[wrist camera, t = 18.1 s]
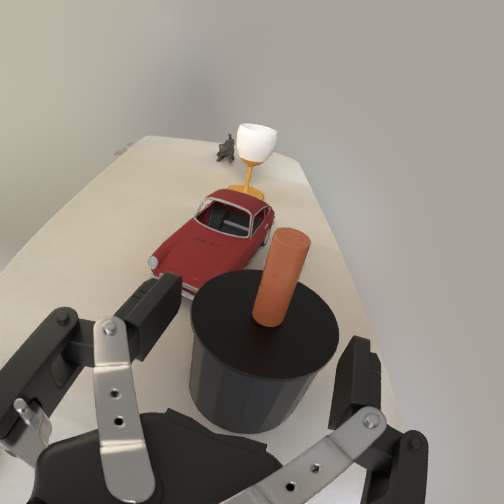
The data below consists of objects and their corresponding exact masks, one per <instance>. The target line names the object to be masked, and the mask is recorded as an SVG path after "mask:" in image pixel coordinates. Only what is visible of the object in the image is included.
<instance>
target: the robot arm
mask: <svg viewBox="0 0 504 504" xmlns="http://www.w3.org/2000/svg"><path fill="white" fill-rule="evenodd" d="M182 284H183V278H182V276H179V275H176V274H174V273H171V272H169V271H166V272H165V273H164V274H163V275H162V276H161V278H160V279H159V280H158V279H156V278H152V279H150V280H147V281H145V282H144V283H143V284H142V285H141V286H140V287H139V288H138V289H137V290H136V291H135V292H134V293H133V294H132V296H131V297H130V298H129V299H128V300H127V301H126V302H125V303H124V304H123V305H122V306H121V308H120V309H119V310H118V311H117V312H116V313H115V314H114V315H113V316H105V317H102V318H100V319H99V320H97V321H90V320H84V319H79V318H78V314H77V312H76V311H75V310H74V309H72V308H70V307H60V308H57V309H55V310H54V311H52V312H51V313H50V315H49V316H48V317H47V318H46V319H45V320H44V321H43V322H42V323H41V324H40V325H39V326H38V328H37V329H36V330H35V331H34V332H33V333H32V334H31V335H30V336H29V338H28V339H27V340H26V341H25V342H24V343H23V344H22V346H21V347H20V348H19V349H18V350H17V351H16V353H15V354H14V355H13V356H12V357H11V358H10V360H9V361H8V362H7V363H6V364H5V366H4V367H3V368H2V369H1V371H0V447H1V448H2V449H4V450H5V451H6V452H7V453H8V454H10V455H11V456H14V457H19V458H20V459H21V460H22V461H24V462H25V463H26V464H28V465H29V466H31V467H32V468H33V469H35V481H34V488H33V492H32V495H31V497H30V499H29V501H28V502H27V503H26V504H304V503H305V502H307V501H308V500H309V499H311V498H312V497H313V496H315V495H316V494H317V493H318V492H320V491H321V490H322V489H323V488H325V487H326V486H327V485H328V484H330V483H331V482H332V481H333V480H334V479H336V478H337V477H338V476H339V475H340V474H341V473H343V472H344V471H345V470H346V469H347V468H348V467H349V466H350V465H351V464H352V463H353V462H355V463H357V464H358V465H360V466H362V467H364V468H366V469H367V473H366V478H365V483H364V489H363V493H362V498H361V503H360V504H425V495H426V484H427V469H428V442H427V439H426V437H425V436H424V435H423V434H422V433H420V432H419V431H416V430H410V431H407V432H406V433H404V434H403V433H401V432H399V431H398V430H396V429H394V428H392V427H390V426H389V425H388V424H387V421H386V418H385V416H384V414H383V413H382V412H381V382H380V381H381V375H380V374H381V363H380V360H379V358H378V356H377V354H376V353H372V352H370V340H369V339H365V338H362V337H359V336H355V335H354V336H353V337H352V339H351V340H350V342H349V344H348V345H347V347H346V349H345V350H344V352H343V354H342V355H341V357H340V359H339V361H338V364H337V368H336V376H335V383H334V391H333V398H332V405H331V411H330V418H329V424H328V429H331V430H335V431H334V432H332V433H331V434H330V435H327V436H325V437H324V438H323V439H321V440H320V441H319V442H317V443H316V444H315V445H313V446H312V447H311V448H309V449H308V450H306V451H305V452H304V453H302V454H301V455H299V456H298V457H297V458H295V459H294V460H292V461H291V462H289V463H288V464H286V465H285V466H283V465H282V464H281V463H280V462H279V461H278V460H277V459H276V458H275V457H274V456H273V455H271V454H270V453H268V452H267V451H266V448H267V444H264V443H260V442H257V441H254V440H251V439H248V438H245V437H240V436H231V435H223V434H216V433H213V432H212V431H210V430H209V429H207V428H206V427H204V426H203V425H201V424H200V423H198V422H197V421H195V420H194V419H193V418H191V417H188V416H186V415H184V414H181V413H179V412H177V411H174V410H172V409H170V408H168V409H167V411H166V413H165V414H164V413H157V412H149V413H142V414H139V409H138V404H137V399H136V393H135V388H134V382H133V376H132V369H131V363H132V362H133V361H134V359H138V360H140V361H142V362H143V361H144V359H145V358H146V356H147V355H148V353H149V352H150V351H151V349H152V348H153V346H154V345H155V343H156V342H157V341H158V339H159V338H160V336H161V335H162V334H163V332H164V331H165V329H166V328H167V326H168V325H169V324H170V322H171V321H172V319H173V318H174V317H175V315H176V314H177V312H178V310H179V308H180V304H181V296H182ZM85 366H87V367H92V368H93V383H94V395H95V406H96V415H97V424H98V429H96V430H93V431H90V432H87V433H84V434H81V435H78V436H75V437H71V438H68V439H65V440H61V441H58V442H55V443H52V444H50V445H49V443H48V441H49V436H50V434H51V431H52V425H51V422H50V420H49V417H50V416H51V414H52V413H53V411H54V410H55V408H56V407H57V405H58V404H59V402H60V401H61V400H62V398H63V397H64V395H65V394H66V392H67V391H68V389H69V388H70V386H71V385H72V384H73V382H74V381H75V379H76V378H77V376H78V375H79V374H80V372H81V371H82V369H83V368H84V367H85Z"/></svg>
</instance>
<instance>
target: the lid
mask: <svg viewBox="0 0 504 504" xmlns="http://www.w3.org/2000/svg"><path fill="white" fill-rule="evenodd" d="M310 244H311V241H310V239H309V237H308V236H307V235H305V234H304V233H302V232H301V231H298V230H296V229H292V228H279V229H277V230H275V232H274V234H273V238H272V242H271V245H270V249H269V253H268V256H267V260H266V264H265V267H264V271H262V270H236V271H230V272H226V273H223V274H220V275H217V276H215V277H213V278H212V279H210V280H208V281H207V282H206V283H204V284H203V285H202V286H201V287H200V288H199V290H198V291H197V293H196V294H195V296H194V298H193V301H192V304H191V312H190V320H191V326H192V329H193V332H194V335H195V337H196V339H197V341H198V342H199V343H200V345H201V346H202V348H203V349H204V350H205V351H206V352H207V353H208V354H209V356H211V357H212V358H213V359H214V360H215V361H216V362H218V363H219V364H221V365H222V366H224V367H225V368H227V369H229V370H231V371H233V372H235V373H237V374H239V375H242V376H244V377H247V378H250V379H254V380H259V381H265V382H291V381H296V380H300V379H304V378H306V377H309V376H311V375H313V374H315V373H316V372H318V371H320V370H321V369H322V368H323V367H325V366H326V365H327V363H328V362H329V361H330V360H331V358H332V357H333V355H334V353H335V351H336V349H337V346H338V342H339V328H338V324H337V321H336V318H335V316H334V314H333V312H332V311H331V309H330V308H329V306H328V305H327V304H326V303H325V301H324V300H323V299H322V298H321V297H320V296H319V295H317V294H316V293H315V292H314V291H312V290H311V289H310V288H308V287H307V286H305V285H303V284H302V283H300V282H298V279H299V276H300V273H301V270H302V267H303V264H304V262H305V259H306V256H307V253H308V250H309V247H310Z"/></svg>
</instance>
